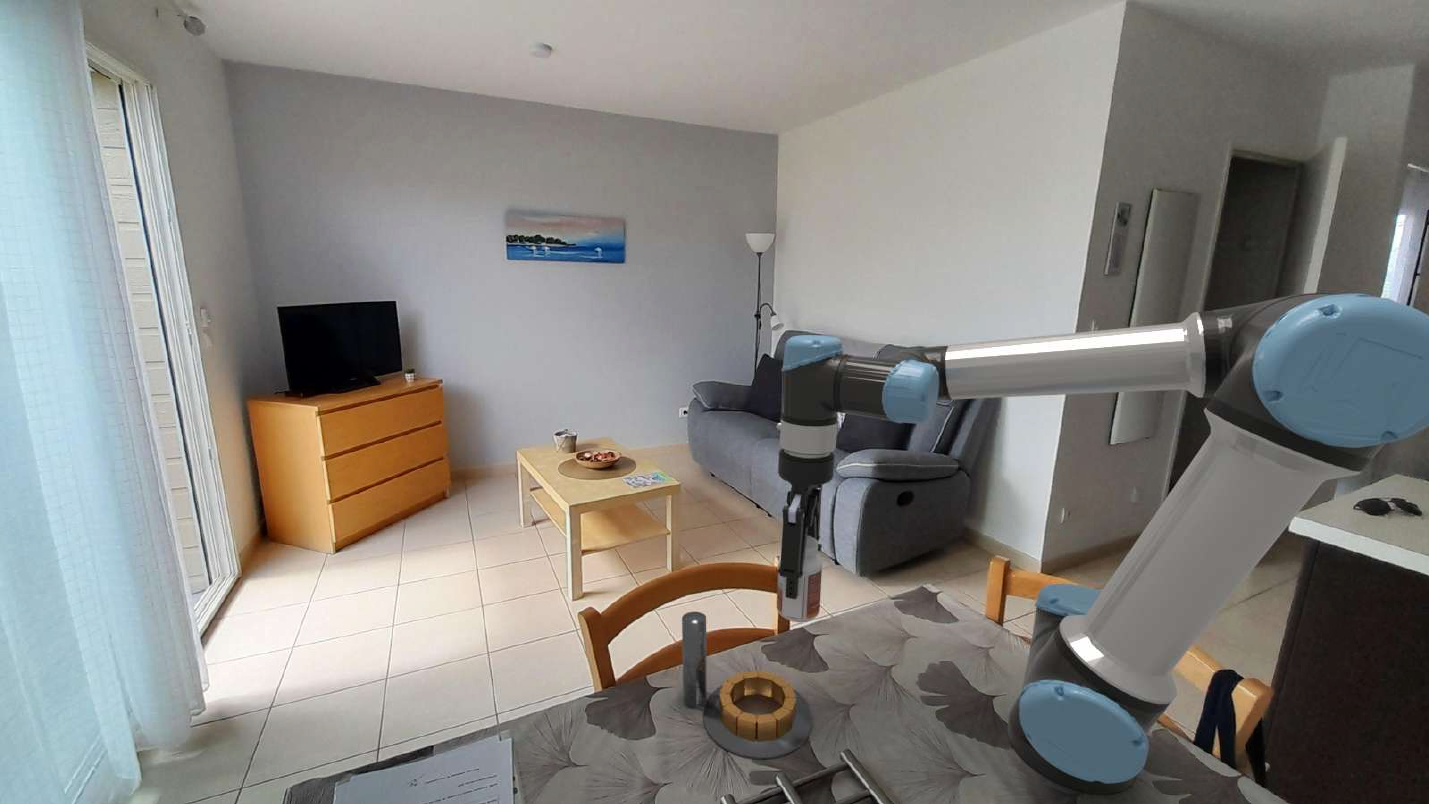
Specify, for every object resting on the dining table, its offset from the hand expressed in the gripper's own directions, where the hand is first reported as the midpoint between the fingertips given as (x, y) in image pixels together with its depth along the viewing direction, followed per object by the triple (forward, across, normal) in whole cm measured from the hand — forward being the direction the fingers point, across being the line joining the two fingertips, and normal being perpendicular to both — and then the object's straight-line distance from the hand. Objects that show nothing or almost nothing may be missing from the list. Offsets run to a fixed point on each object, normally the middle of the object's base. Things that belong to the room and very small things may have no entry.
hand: (798, 602), depth 86 cm
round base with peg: (+18, +4, -6) cm, 19 cm away
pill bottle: (+2, 0, 0) cm, 2 cm away
